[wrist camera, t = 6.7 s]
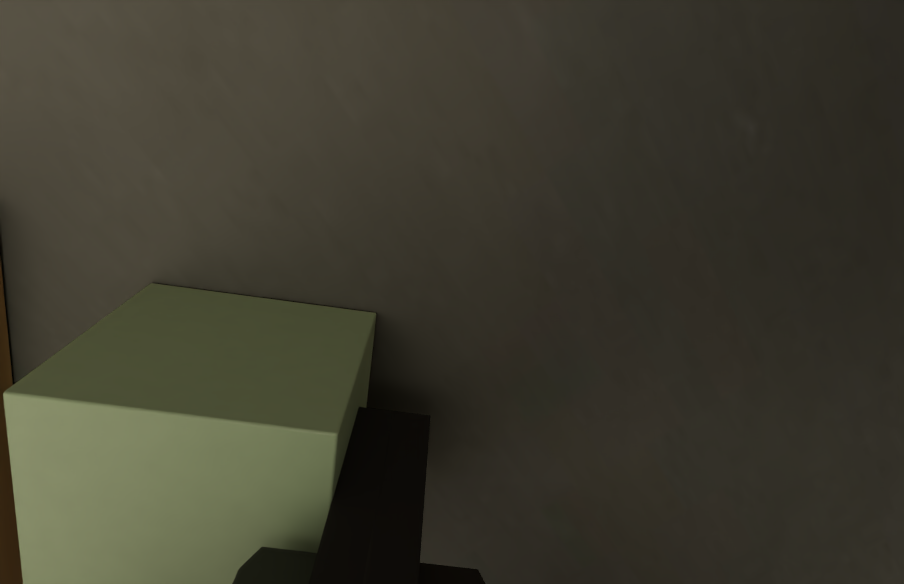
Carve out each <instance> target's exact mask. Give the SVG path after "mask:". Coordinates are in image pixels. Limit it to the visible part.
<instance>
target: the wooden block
mask: <svg viewBox="0 0 904 584" xmlns="http://www.w3.org/2000/svg"><path fill="white" fill-rule="evenodd" d="M12 385H13V381H12V370H11V360H10V350H9V339H8V329H7V319H6V308H5V298H4V287H3V277H2V267H1V256H0V584H23V578H22V569H21V559H20V550H19V540H18V531H17V522H16V512H15V503H14V493H13V484H12V474H11V465H10V455H9V446H8V437H7V427H6V418H5V408H4V399H3V393H4V391H6V390H7V389H8V388H10V387H11V386H12Z"/></svg>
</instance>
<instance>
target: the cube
mask: <svg viewBox="0 0 904 584" xmlns="http://www.w3.org/2000/svg"><path fill="white" fill-rule="evenodd" d="M375 323H376V313H372V312H365V311H357V310H350V309H342V308H334V307H327V306H319V305H312V304H304V303H297V302H289V301H282V300H274V299H267V298H259V297H252V296H244V295H237V294H229V293H222V292H214V291H207V290H199V289H191V288H184V287H176V286H169V285H161V284H154V283H151V284H149V285H148V286H147V287H145V288H144V289H143V290H141V291H140V292H138V293H137V294H136V295H134V296H133V297H132V298H130V299H129V300H128V301H126V302H125V303H124V304H122V305H121V306H119V307H118V308H117V309H115V310H114V311H113V312H111V313H110V314H109V315H107V316H106V317H105V318H103V319H102V320H100V321H99V322H98V323H96V324H95V325H94V326H92V327H91V328H90V329H88V330H87V331H86V332H84V333H83V334H82V335H80V336H79V337H77V338H76V339H75V340H73V341H72V342H71V343H69V344H68V345H67V346H65V347H64V348H63V349H61V350H60V351H58V352H57V353H56V354H54V355H53V356H52V357H50V358H49V359H48V360H46V361H45V362H44V363H42V364H41V365H40V366H38V367H37V368H35V369H34V370H33V371H31V372H30V373H29V374H27V375H26V376H25V377H23V378H22V379H21V380H19V381H18V382H16V383H15V384H14V385H12V386H11V387H10V388H8V389H7V390H6V391H4V393H3V399H4V408H5V418H6V427H7V437H8V446H9V455H10V465H11V474H12V484H13V493H14V503H15V512H16V522H17V531H18V540H19V550H20V559H21V569H22V578H23V584H232V583H233V581H234V579H235V576H236V574H237V572H238V569H239V568H240V567H241V566H242V565H243V564H244V563H245V562H246V561H247V560H248V559H249V558H251V557H252V556H253V555H254V554H255V553H256V552H257V551H258V550H259V549H260V548H261V547H270V548H278V549H287V550H296V551H304V552H313V553H317V552H318V548H319V545H320V541H321V537H322V534H323V530H324V527H325V523H326V520H327V516H328V513H329V509H330V505H331V502H332V499H333V496H334V492H335V489H336V485H337V482H338V478H339V475H340V471H341V468H342V464H343V461H344V457H345V454H346V450H347V447H348V443H349V440H350V436H351V433H352V429H353V425H354V422H355V418H356V415H357V411H358V408H359V407H365V408H366V406H367V397H368V388H369V378H370V369H371V360H372V351H373V341H374V332H375Z"/></svg>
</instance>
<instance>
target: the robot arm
mask: <svg viewBox="0 0 904 584" xmlns="http://www.w3.org/2000/svg"><path fill="white" fill-rule="evenodd" d="M429 426H430V416H429V415H421V414H413V413H405V412H397V411H389V410H381V409H373V408H365V407H359V408H358V411H357V415H356V418H355V422H354V425H353V429H352V433H351V436H350V440H349V443H348V447H347V450H346V454H345V457H344V461H343V464H342V468H341V471H340V475H339V478H338V482H337V485H336V489H335V492H334V496H333V499H332V502H331V505H330V509H329V513H328V516H327V520H326V523H325V527H324V530H323V534H322V537H321V541H320V545H319V548H318V552H317V553H313V552H304V551H296V550H287V549H278V548H270V547H261V548H260V549H259V550H258V551H257V552H256V553H255V554H254V555H253V556H252V557H251V558H249V559H248V560H247V561H246V562H245V563H244V564H243V565H242V566H241V567H240V568H239V569H238V572H237V574H236V576H235V579H234V581H233V583H232V584H485V582H484V580H483V578H482V577H481V575H480V573H479V571H478V570H477V569H469V568H460V567H451V566H443V565H434V564H426V563H420V551H421V537H422V523H423V509H424V495H425V482H426V468H427V454H428V440H429Z"/></svg>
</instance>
